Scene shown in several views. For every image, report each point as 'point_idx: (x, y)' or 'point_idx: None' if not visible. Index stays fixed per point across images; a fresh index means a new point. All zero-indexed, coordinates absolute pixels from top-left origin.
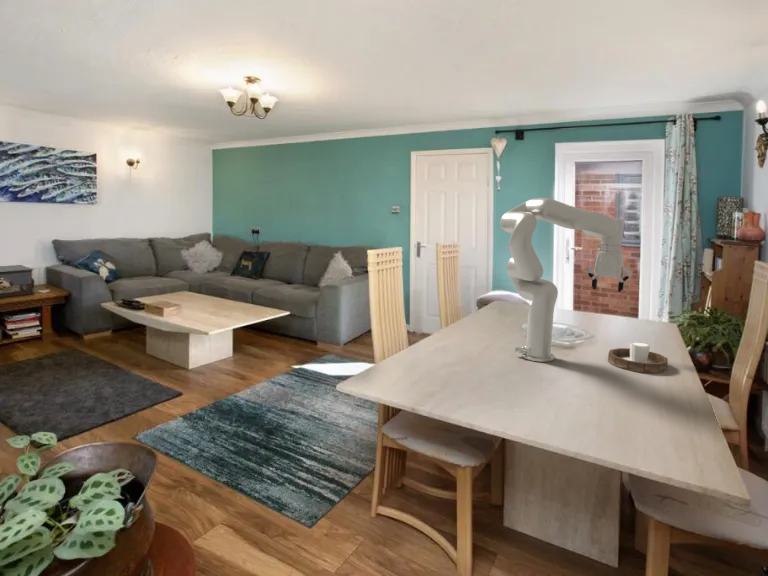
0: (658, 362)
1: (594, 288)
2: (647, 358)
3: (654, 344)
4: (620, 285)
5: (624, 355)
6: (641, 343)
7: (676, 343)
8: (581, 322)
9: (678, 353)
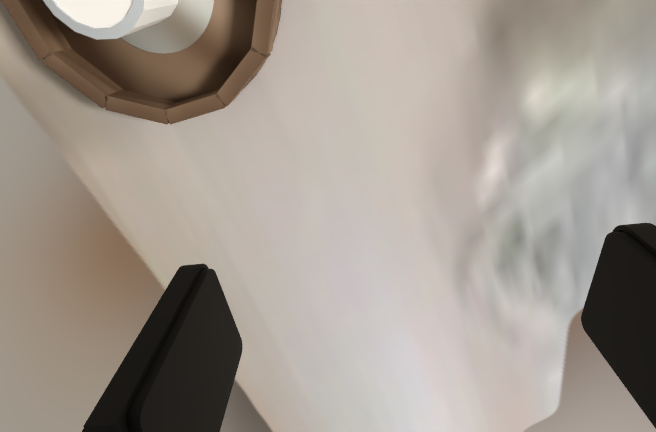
0: (98, 62)
1: (621, 234)
2: (158, 90)
3: (261, 318)
4: (137, 368)
5: (240, 55)
6: (99, 15)
7: None
8: (537, 406)
9: (162, 272)
